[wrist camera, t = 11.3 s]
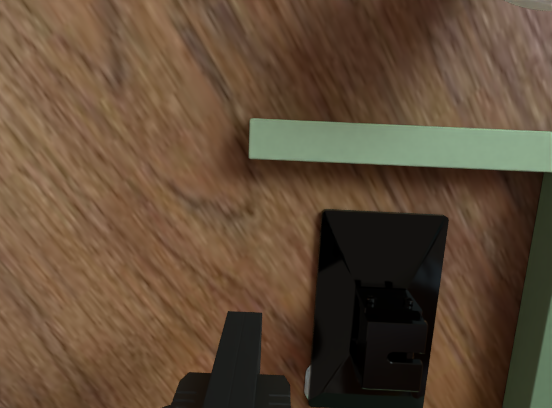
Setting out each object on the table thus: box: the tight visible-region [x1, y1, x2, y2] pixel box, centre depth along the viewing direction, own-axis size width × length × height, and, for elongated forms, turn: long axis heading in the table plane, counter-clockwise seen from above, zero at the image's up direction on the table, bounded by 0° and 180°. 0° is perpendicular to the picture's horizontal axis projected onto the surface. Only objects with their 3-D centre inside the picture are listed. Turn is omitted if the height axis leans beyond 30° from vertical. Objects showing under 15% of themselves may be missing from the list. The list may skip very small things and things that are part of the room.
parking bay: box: [249, 118, 552, 408], centre depth 23 cm, size 20×18×2 cm
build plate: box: [304, 209, 449, 408], centre depth 22 cm, size 12×7×5 cm, turn 177°
